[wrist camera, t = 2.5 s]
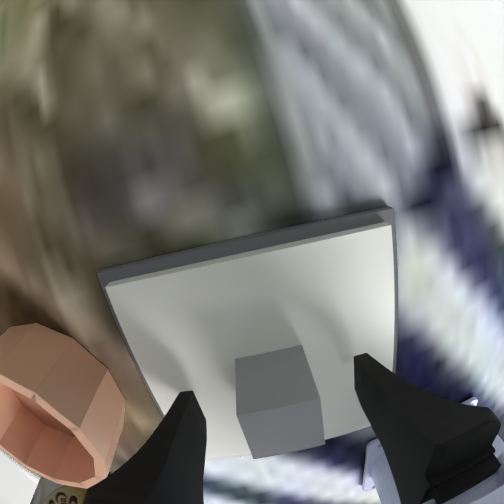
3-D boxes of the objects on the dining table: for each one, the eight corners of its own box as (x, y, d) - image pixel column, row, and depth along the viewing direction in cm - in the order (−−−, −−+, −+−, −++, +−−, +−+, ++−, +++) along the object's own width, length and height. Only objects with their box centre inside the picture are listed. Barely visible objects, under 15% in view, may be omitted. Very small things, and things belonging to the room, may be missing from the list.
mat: (388, 206, 13) (393, 208, 12) (388, 411, 17) (391, 416, 16) (100, 269, 13) (96, 273, 12) (188, 453, 17) (188, 458, 16)
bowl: (82, 315, 14) (40, 368, 9) (148, 436, 16) (135, 493, 12) (-19, 331, 14) (-58, 368, 9) (45, 433, 16) (24, 475, 12)
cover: (385, 221, 13) (439, 250, 9) (384, 414, 16) (409, 461, 12) (109, 281, 13) (69, 329, 9) (192, 454, 16) (188, 507, 12)
